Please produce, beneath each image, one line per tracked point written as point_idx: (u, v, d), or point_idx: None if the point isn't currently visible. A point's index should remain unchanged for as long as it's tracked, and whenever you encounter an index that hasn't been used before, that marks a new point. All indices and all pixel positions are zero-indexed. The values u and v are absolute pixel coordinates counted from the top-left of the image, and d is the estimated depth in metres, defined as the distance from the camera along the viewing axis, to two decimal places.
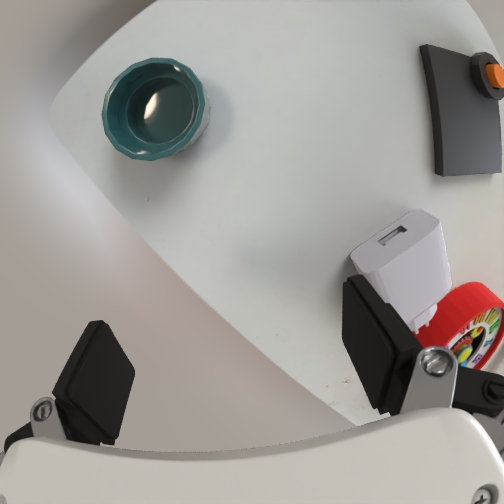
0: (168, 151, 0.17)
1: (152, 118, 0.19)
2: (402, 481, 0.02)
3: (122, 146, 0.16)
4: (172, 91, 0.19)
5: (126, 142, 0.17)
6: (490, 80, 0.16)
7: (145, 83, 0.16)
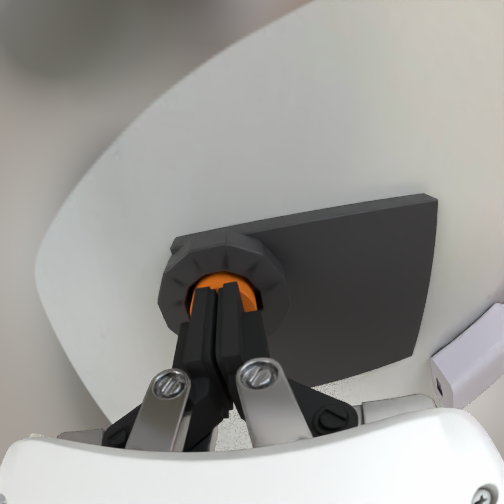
0: None
1: None
2: (402, 481, 0.02)
3: None
4: None
5: None
6: None
7: None
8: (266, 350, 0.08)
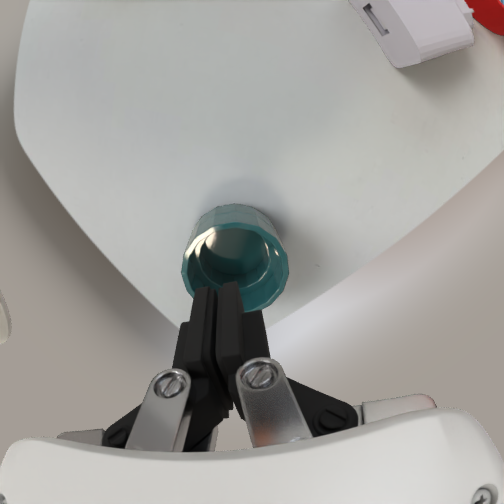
0: (282, 257, 0.18)
1: (239, 259, 0.23)
2: (402, 481, 0.02)
3: (269, 298, 0.20)
4: (213, 240, 0.22)
5: (263, 290, 0.21)
6: None
7: (204, 270, 0.21)
8: (266, 350, 0.08)
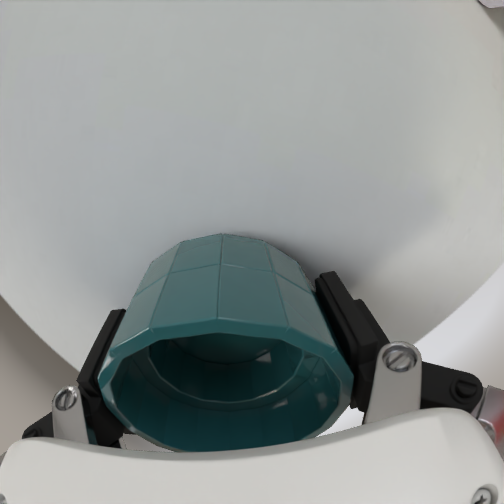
0: (343, 382, 0.06)
1: (237, 340, 0.11)
2: (402, 481, 0.02)
3: (300, 437, 0.08)
4: None
5: (287, 410, 0.09)
6: None
7: (165, 374, 0.09)
8: (385, 336, 0.07)
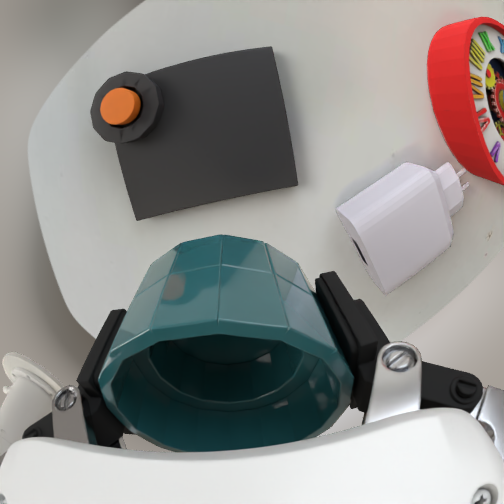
0: (343, 383, 0.06)
1: (237, 340, 0.11)
2: (402, 481, 0.02)
3: (300, 437, 0.08)
4: None
5: (287, 410, 0.09)
6: (134, 117, 0.17)
7: (166, 374, 0.09)
8: (385, 336, 0.07)
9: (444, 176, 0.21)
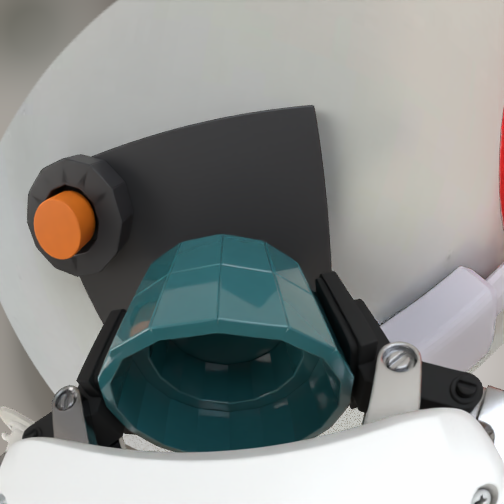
0: (344, 382, 0.06)
1: (237, 340, 0.11)
2: (402, 481, 0.02)
3: (300, 437, 0.08)
4: None
5: (287, 410, 0.09)
6: (87, 241, 0.11)
7: (165, 374, 0.09)
8: (385, 336, 0.07)
9: (499, 283, 0.15)
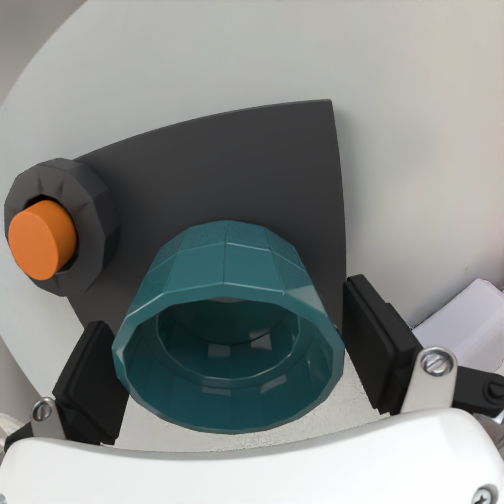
0: (335, 350, 0.07)
1: (239, 321, 0.12)
2: (402, 481, 0.02)
3: (298, 410, 0.09)
4: None
5: (285, 386, 0.10)
6: (68, 259, 0.09)
7: (172, 351, 0.10)
8: (417, 341, 0.07)
9: None
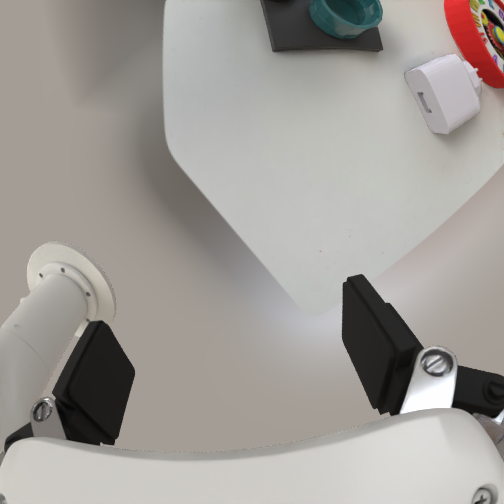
0: (377, 1, 0.17)
1: None
2: (402, 481, 0.02)
3: (374, 22, 0.18)
4: None
5: None
6: None
7: None
8: (417, 341, 0.07)
9: (465, 66, 0.22)
